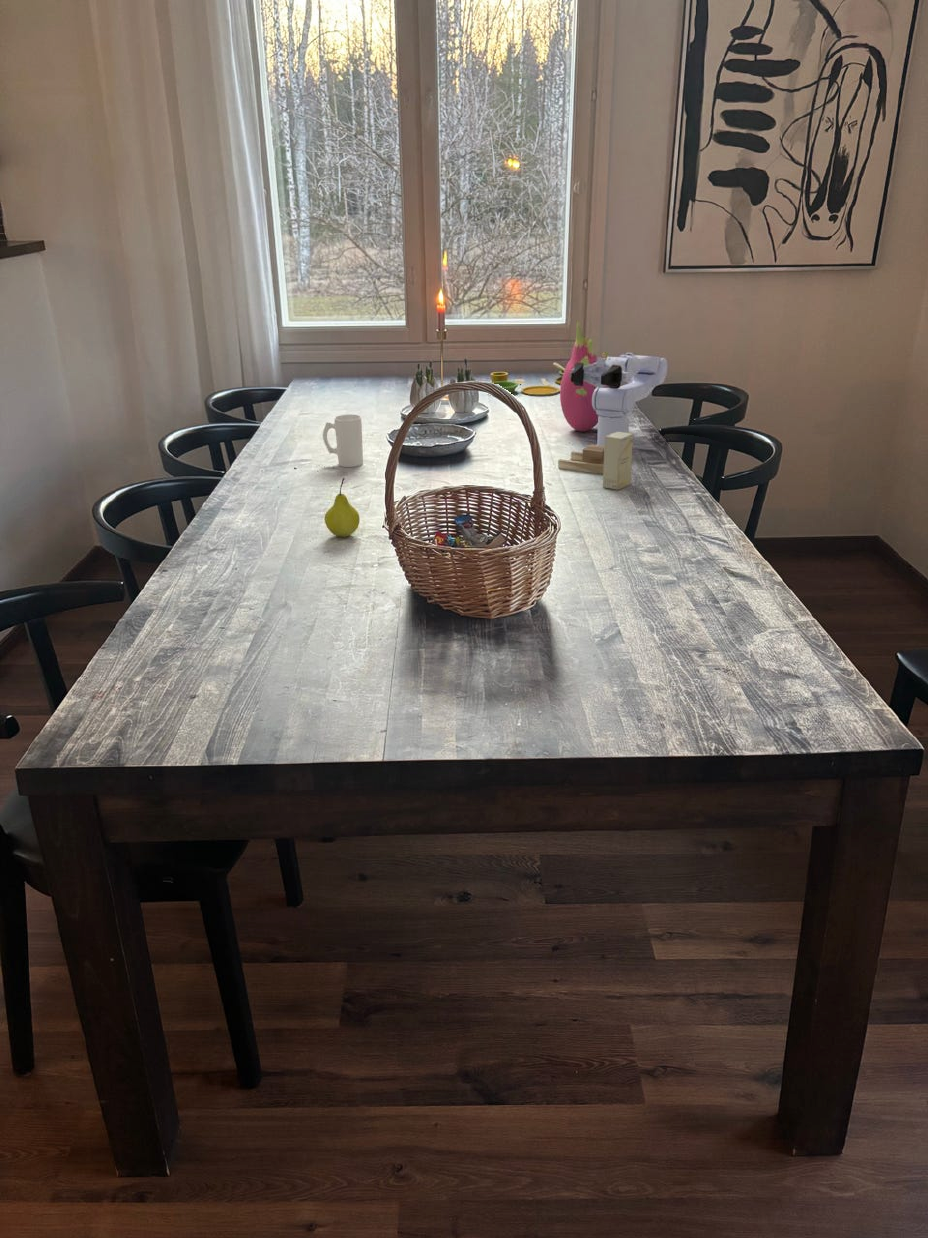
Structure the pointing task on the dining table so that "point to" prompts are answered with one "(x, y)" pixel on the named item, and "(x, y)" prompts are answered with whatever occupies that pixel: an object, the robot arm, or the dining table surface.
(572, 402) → the pitaya
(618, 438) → the skincare box
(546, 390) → the tableware set
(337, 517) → the fruit
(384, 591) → the dining table surface
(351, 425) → the mug
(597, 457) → the block
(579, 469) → the light wooden stepped bars
